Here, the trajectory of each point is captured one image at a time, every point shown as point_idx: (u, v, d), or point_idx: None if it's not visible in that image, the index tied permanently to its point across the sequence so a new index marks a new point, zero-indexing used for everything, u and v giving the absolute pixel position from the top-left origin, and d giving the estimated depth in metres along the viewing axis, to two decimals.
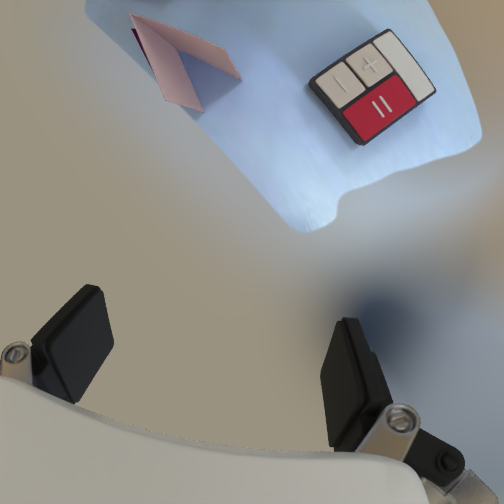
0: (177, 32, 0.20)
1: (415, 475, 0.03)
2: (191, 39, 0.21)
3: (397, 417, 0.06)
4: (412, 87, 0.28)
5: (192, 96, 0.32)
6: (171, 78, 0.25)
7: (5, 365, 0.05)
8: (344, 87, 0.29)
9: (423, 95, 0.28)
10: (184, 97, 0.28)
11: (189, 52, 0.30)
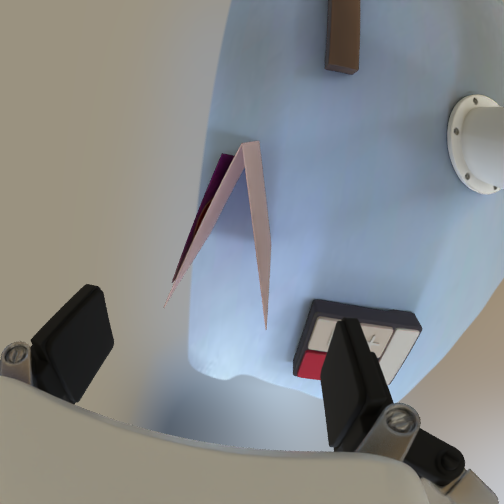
0: (257, 236, 0.17)
1: (415, 475, 0.03)
2: (260, 253, 0.19)
3: (397, 417, 0.06)
4: None
5: (212, 225, 0.28)
6: (202, 236, 0.21)
7: (5, 365, 0.05)
8: None
9: None
10: (198, 249, 0.24)
11: (261, 173, 0.27)
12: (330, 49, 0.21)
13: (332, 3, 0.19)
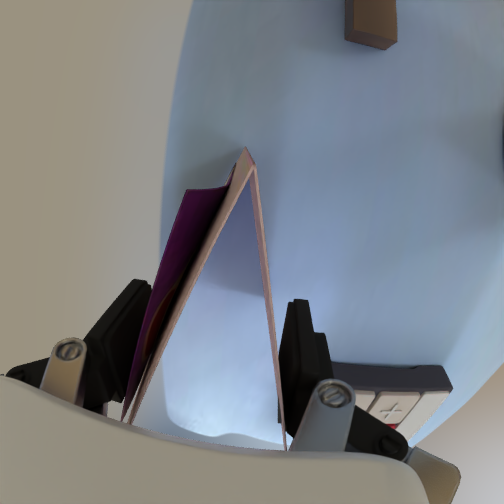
0: None
1: (415, 475, 0.03)
2: None
3: (330, 393, 0.07)
4: None
5: None
6: (162, 331, 0.11)
7: (59, 363, 0.06)
8: None
9: None
10: None
11: None
12: (354, 9, 0.11)
13: None
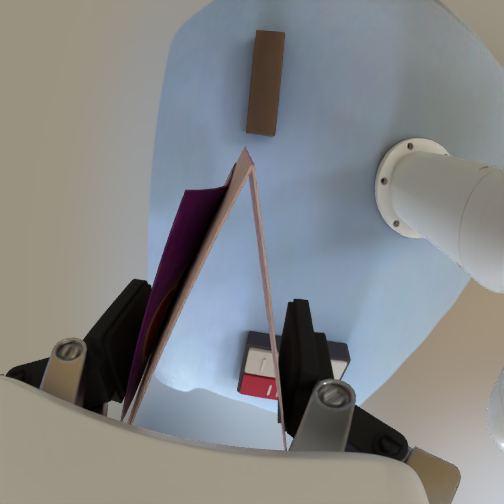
0: (275, 368, 0.08)
1: (415, 475, 0.03)
2: None
3: (330, 393, 0.07)
4: None
5: None
6: (162, 331, 0.11)
7: (59, 363, 0.06)
8: (262, 368, 0.38)
9: None
10: None
11: None
12: (248, 118, 0.27)
13: (253, 66, 0.25)
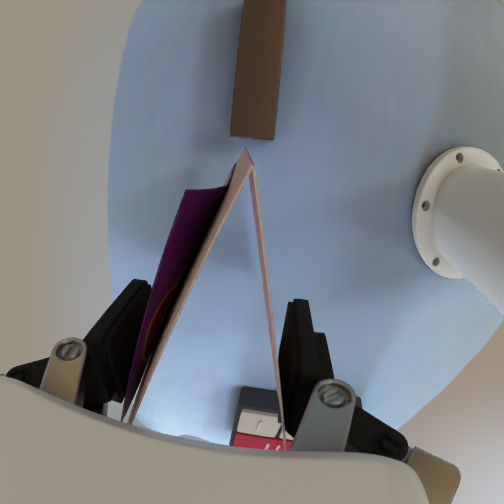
0: (275, 368, 0.08)
1: (415, 475, 0.03)
2: None
3: (329, 393, 0.07)
4: None
5: None
6: (162, 331, 0.11)
7: (59, 363, 0.06)
8: (258, 429, 0.28)
9: None
10: None
11: None
12: (233, 113, 0.18)
13: (240, 37, 0.15)
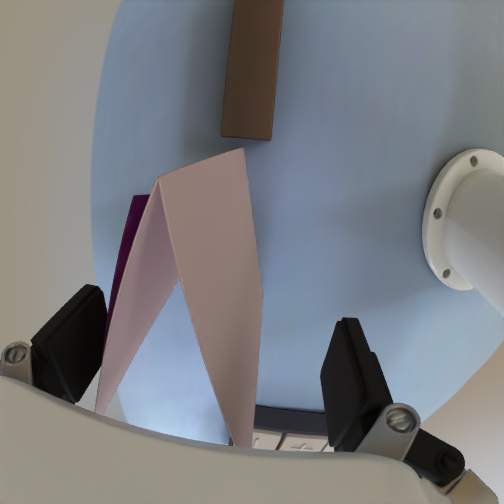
0: (225, 360, 0.08)
1: (415, 475, 0.03)
2: (236, 375, 0.09)
3: (397, 417, 0.06)
4: None
5: (176, 277, 0.19)
6: (145, 319, 0.12)
7: (5, 365, 0.05)
8: (255, 446, 0.26)
9: None
10: (149, 324, 0.15)
11: (246, 198, 0.18)
12: (224, 110, 0.15)
13: (233, 25, 0.13)
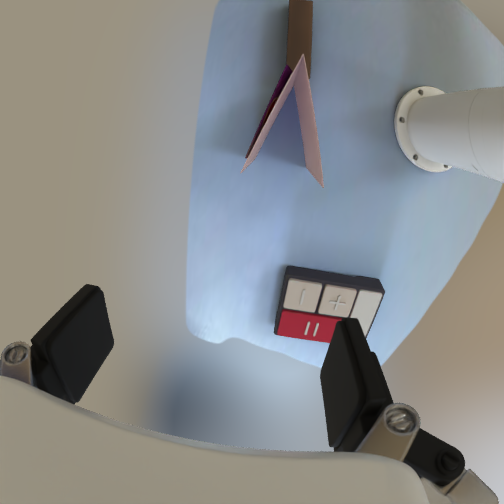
0: (312, 119, 0.22)
1: (415, 475, 0.03)
2: (313, 135, 0.23)
3: (397, 417, 0.06)
4: None
5: (260, 145, 0.32)
6: (263, 134, 0.26)
7: (5, 365, 0.05)
8: (301, 300, 0.40)
9: None
10: (255, 153, 0.29)
11: (298, 105, 0.31)
12: (287, 64, 0.29)
13: (289, 25, 0.27)
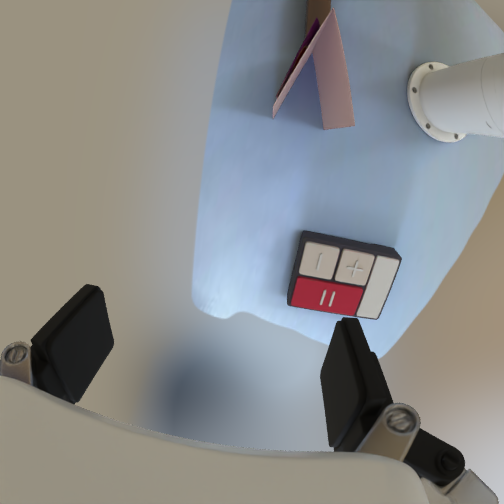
0: (340, 65, 0.20)
1: (415, 475, 0.03)
2: (341, 81, 0.21)
3: (397, 417, 0.06)
4: (363, 305, 0.40)
5: (281, 102, 0.31)
6: (290, 83, 0.24)
7: (5, 365, 0.05)
8: (318, 265, 0.38)
9: (363, 315, 0.40)
10: (279, 103, 0.27)
11: (318, 69, 0.29)
12: (307, 30, 0.27)
13: None
